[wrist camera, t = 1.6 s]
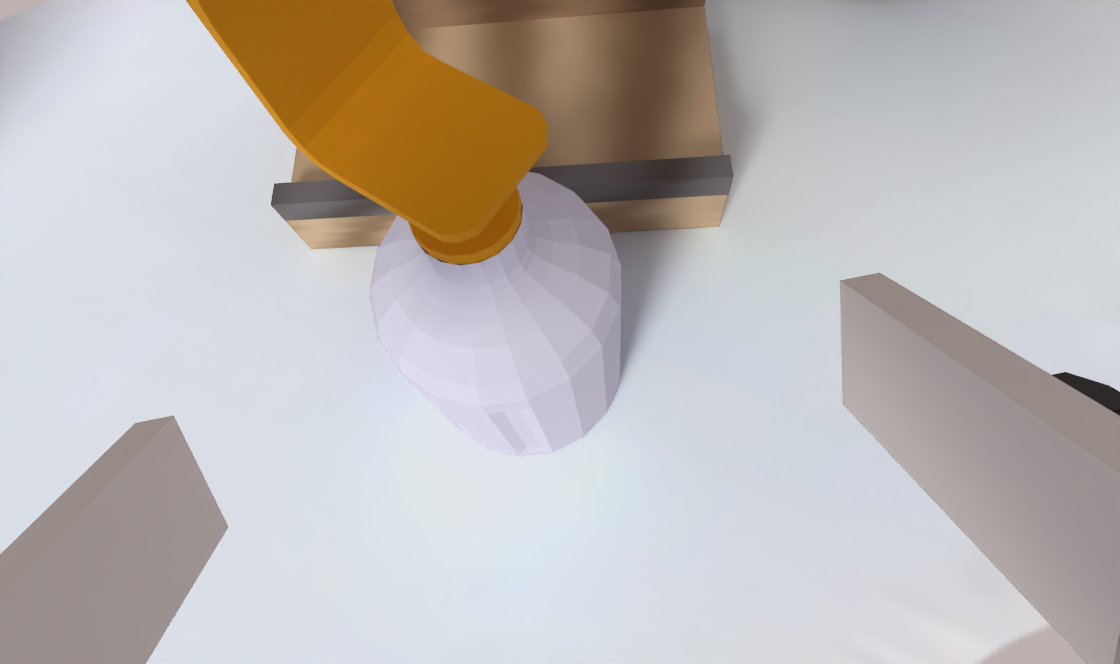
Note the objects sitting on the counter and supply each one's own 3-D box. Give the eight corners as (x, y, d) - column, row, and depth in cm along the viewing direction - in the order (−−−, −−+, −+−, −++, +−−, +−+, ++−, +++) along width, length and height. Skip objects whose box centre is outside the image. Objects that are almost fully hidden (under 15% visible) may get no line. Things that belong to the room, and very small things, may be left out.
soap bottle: (554, 495, 30) (353, 217, 7) (402, 392, 33) (-105, -59, 10) (655, 340, 32) (743, -242, 10) (507, 254, 35) (294, -374, 12)
